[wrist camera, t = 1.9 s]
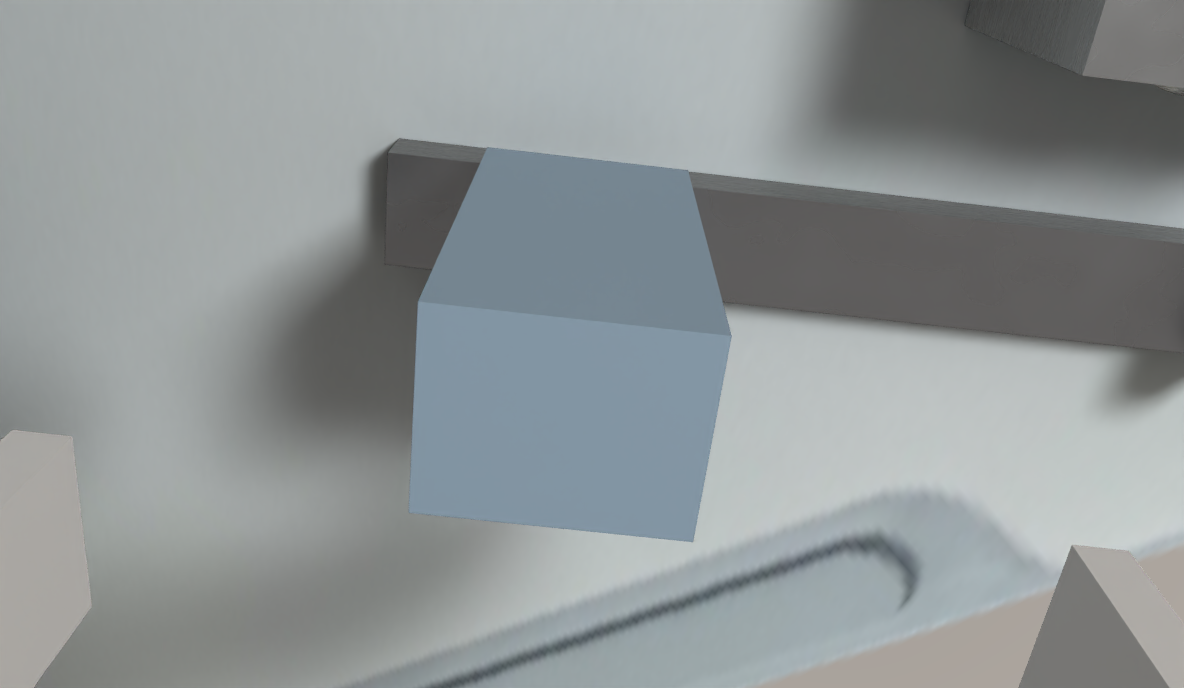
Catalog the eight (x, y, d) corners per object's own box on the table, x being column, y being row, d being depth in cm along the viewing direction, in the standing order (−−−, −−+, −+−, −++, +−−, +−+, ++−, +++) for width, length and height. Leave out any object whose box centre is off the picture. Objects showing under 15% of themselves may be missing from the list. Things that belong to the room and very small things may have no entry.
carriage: (476, 296, 27) (408, 512, 18) (487, 147, 25) (418, 301, 16) (664, 317, 27) (693, 542, 18) (688, 170, 25) (731, 335, 16)
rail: (395, 255, 28) (363, 311, 25) (399, 127, 27) (366, 167, 23) (1236, 349, 29) (1325, 416, 25) (1286, 229, 28) (1388, 283, 24)
